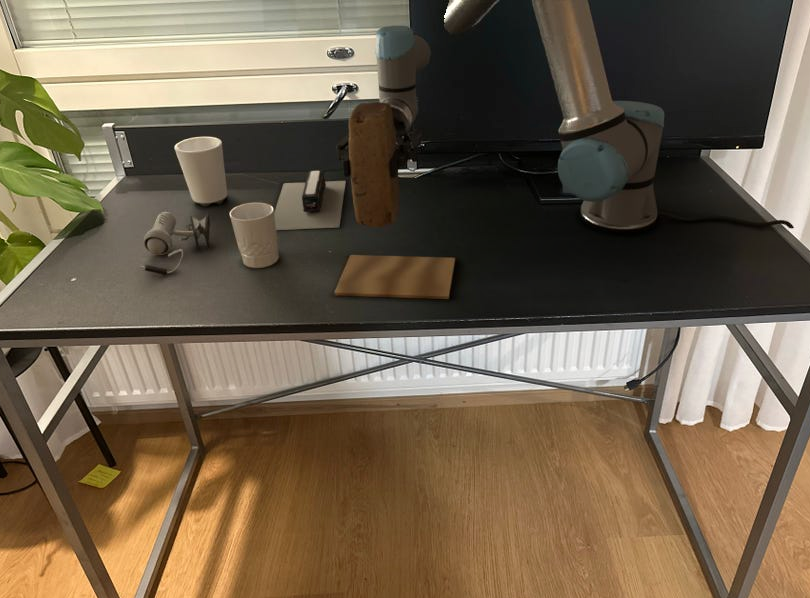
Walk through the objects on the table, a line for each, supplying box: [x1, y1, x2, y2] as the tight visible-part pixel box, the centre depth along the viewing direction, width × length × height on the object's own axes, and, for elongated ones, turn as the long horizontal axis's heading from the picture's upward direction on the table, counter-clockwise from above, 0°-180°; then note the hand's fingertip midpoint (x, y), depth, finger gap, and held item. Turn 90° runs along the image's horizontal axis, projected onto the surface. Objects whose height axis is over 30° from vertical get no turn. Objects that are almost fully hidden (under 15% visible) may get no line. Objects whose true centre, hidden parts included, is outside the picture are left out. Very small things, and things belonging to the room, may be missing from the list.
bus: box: [274, 169, 347, 231], centre depth 152 cm, size 14×25×4 cm, turn 3°
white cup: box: [229, 201, 280, 269], centre depth 130 cm, size 8×8×10 cm
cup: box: [174, 136, 228, 207], centre depth 153 cm, size 10×10×13 cm
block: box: [348, 101, 400, 228], centre depth 122 cm, size 11×8×20 cm
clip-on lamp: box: [139, 211, 211, 276], centre depth 134 cm, size 12×6×18 cm
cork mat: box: [334, 254, 456, 300], centre depth 126 cm, size 20×14×1 cm
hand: (369, 169), depth 118 cm, fingers closed on block, 7 cm apart
